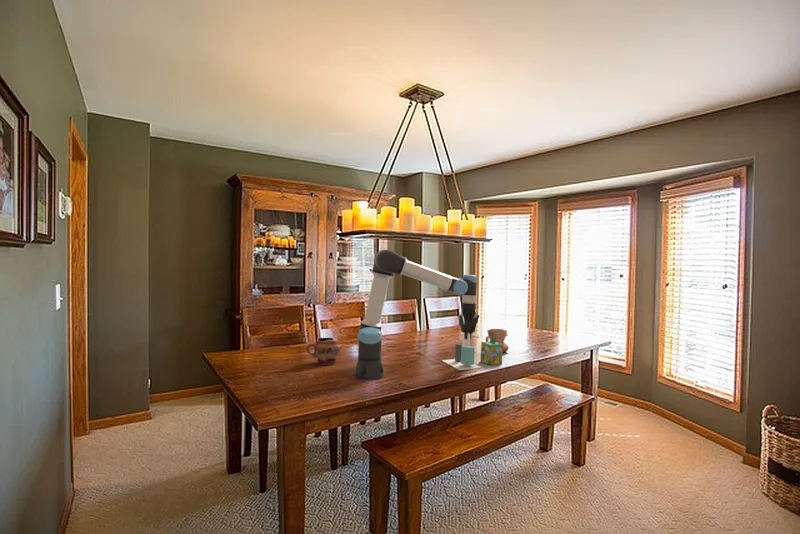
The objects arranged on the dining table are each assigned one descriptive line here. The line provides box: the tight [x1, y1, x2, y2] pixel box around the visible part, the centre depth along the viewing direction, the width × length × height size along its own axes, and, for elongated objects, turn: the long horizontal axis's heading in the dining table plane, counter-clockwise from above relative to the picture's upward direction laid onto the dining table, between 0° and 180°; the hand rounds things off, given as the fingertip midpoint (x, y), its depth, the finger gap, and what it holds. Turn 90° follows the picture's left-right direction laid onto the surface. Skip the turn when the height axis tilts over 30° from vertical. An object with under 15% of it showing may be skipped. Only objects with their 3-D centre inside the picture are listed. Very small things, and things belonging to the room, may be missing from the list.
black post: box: [454, 343, 463, 362], centre depth 239 cm, size 3×3×10 cm
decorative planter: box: [305, 337, 343, 366], centre depth 229 cm, size 20×12×14 cm, turn 119°
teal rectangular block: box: [461, 345, 475, 366], centre depth 229 cm, size 5×5×10 cm
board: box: [441, 358, 482, 371], centre depth 234 cm, size 14×20×1 cm
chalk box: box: [480, 337, 503, 366], centre depth 239 cm, size 9×9×15 cm
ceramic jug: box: [485, 328, 509, 354], centre depth 267 cm, size 18×14×14 cm
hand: (467, 344), depth 229 cm, fingers closed
